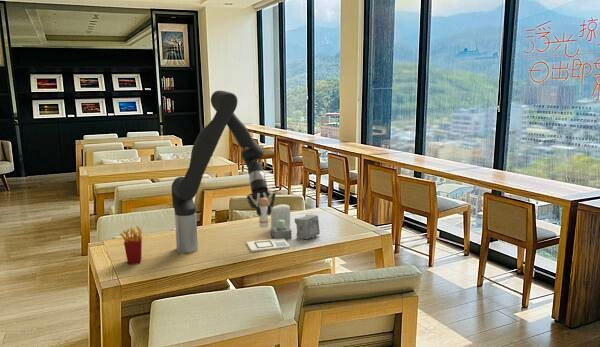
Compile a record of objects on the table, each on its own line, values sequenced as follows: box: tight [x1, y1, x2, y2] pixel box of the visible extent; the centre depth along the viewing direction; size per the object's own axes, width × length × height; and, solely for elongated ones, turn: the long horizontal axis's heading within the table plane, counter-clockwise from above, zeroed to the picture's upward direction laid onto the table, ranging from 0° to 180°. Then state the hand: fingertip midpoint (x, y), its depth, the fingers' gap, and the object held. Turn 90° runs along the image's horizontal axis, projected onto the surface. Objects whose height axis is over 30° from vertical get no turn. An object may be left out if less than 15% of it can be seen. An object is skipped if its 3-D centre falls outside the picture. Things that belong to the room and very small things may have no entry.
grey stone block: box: [294, 214, 321, 240], centre depth 228 cm, size 10×8×10 cm
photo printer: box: [270, 204, 291, 228], centre depth 240 cm, size 10×4×12 cm, turn 123°
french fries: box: [119, 225, 143, 265], centre depth 198 cm, size 9×8×15 cm
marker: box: [258, 197, 269, 228], centre depth 213 cm, size 4×4×13 cm
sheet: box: [246, 238, 291, 253], centre depth 217 cm, size 18×11×1 cm, turn 107°
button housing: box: [270, 225, 292, 240], centre depth 229 cm, size 8×8×4 cm
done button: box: [278, 220, 285, 230], centre depth 228 cm, size 3×3×6 cm
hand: (264, 214), depth 211 cm, fingers closed on marker, 3 cm apart
